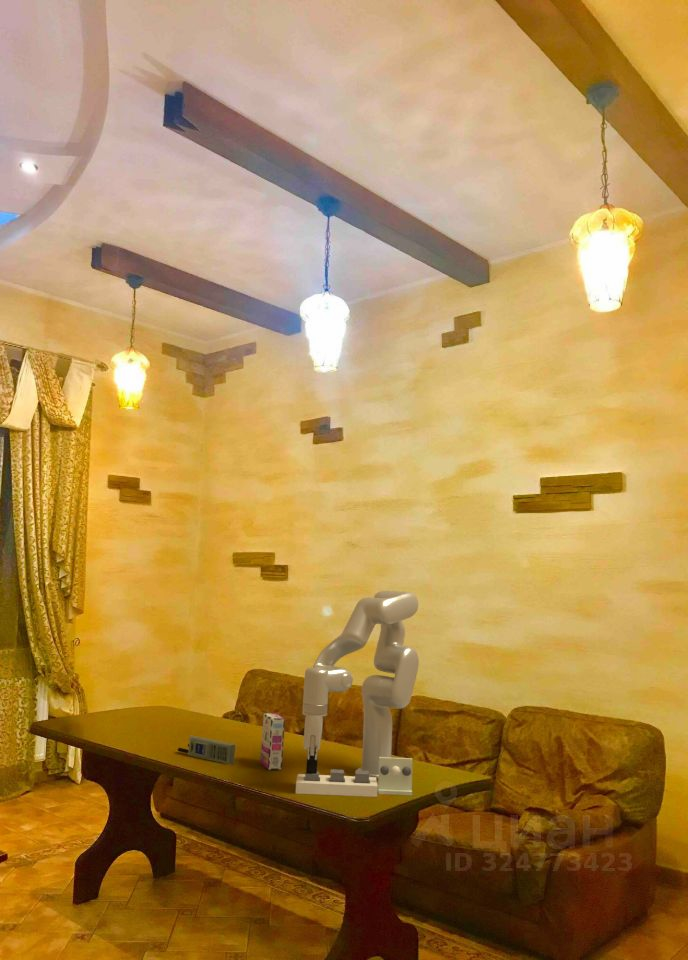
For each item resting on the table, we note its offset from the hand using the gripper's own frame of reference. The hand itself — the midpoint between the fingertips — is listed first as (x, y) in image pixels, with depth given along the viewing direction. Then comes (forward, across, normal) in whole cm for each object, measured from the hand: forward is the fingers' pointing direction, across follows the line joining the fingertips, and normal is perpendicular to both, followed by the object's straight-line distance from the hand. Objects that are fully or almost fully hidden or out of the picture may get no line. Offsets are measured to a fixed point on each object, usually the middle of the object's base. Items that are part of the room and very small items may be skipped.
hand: (311, 772), depth 215 cm
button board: (+5, 0, +8) cm, 9 cm away
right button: (+2, 0, +15) cm, 15 cm away
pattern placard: (+5, 0, +25) cm, 26 cm away
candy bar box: (+5, -26, -14) cm, 30 cm away
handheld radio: (+5, -34, -38) cm, 51 cm away
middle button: (+3, 0, +8) cm, 8 cm away
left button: (+3, 0, 0) cm, 3 cm away
